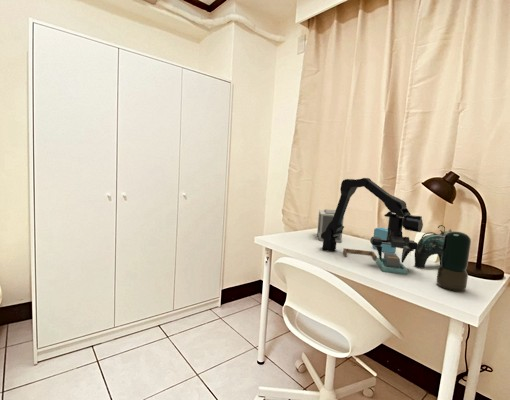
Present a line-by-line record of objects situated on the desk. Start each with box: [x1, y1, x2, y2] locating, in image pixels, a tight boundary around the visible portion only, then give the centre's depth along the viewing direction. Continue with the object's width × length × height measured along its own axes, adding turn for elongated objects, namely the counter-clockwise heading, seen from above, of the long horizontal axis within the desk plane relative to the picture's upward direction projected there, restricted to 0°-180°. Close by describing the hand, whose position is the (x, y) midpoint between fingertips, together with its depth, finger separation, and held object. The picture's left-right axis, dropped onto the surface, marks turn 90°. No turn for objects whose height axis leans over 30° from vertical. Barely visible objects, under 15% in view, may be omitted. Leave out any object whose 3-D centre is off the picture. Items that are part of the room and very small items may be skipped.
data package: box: [372, 227, 397, 254], centre depth 156 cm, size 12×4×12 cm, turn 24°
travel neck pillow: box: [414, 224, 453, 269], centre depth 133 cm, size 20×6×20 cm, turn 102°
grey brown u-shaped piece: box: [342, 247, 378, 261], centre depth 144 cm, size 15×9×2 cm, turn 77°
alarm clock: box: [316, 208, 345, 244], centre depth 177 cm, size 18×13×18 cm
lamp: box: [436, 230, 472, 292], centre depth 109 cm, size 10×10×22 cm
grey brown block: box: [383, 252, 401, 268], centre depth 129 cm, size 5×9×5 cm, turn 164°
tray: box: [375, 256, 408, 275], centre depth 129 cm, size 10×14×2 cm
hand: (391, 261), depth 129 cm, fingers open, 9 cm apart
